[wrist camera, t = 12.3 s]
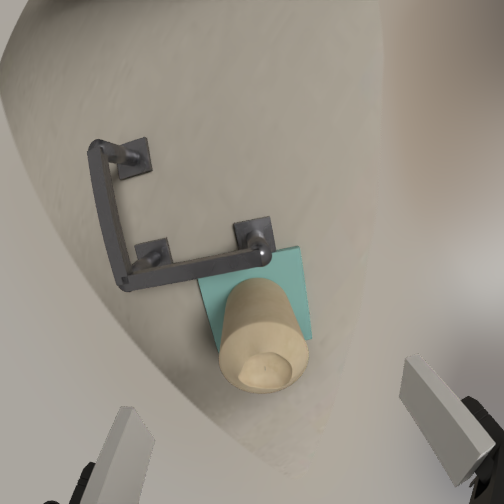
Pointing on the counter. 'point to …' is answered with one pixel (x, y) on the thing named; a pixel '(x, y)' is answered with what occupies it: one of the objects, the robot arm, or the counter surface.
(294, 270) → the pad
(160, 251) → the handrail
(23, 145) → the counter surface
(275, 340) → the candle
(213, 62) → the counter surface
